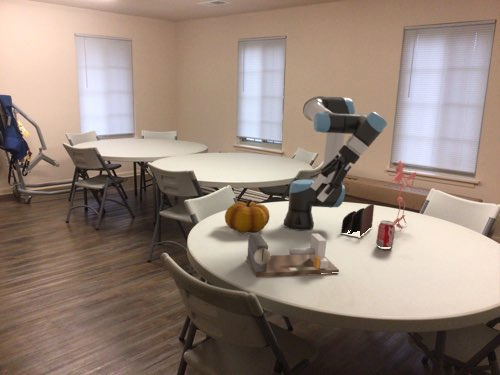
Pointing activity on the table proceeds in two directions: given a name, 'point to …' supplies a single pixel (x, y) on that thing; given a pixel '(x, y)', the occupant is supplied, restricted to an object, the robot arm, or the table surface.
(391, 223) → the soda can
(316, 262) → the orange flat block
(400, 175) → the figurine
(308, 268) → the bench
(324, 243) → the white stepped block
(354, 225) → the letter holder
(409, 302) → the table surface
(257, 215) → the decorative pumpkin
